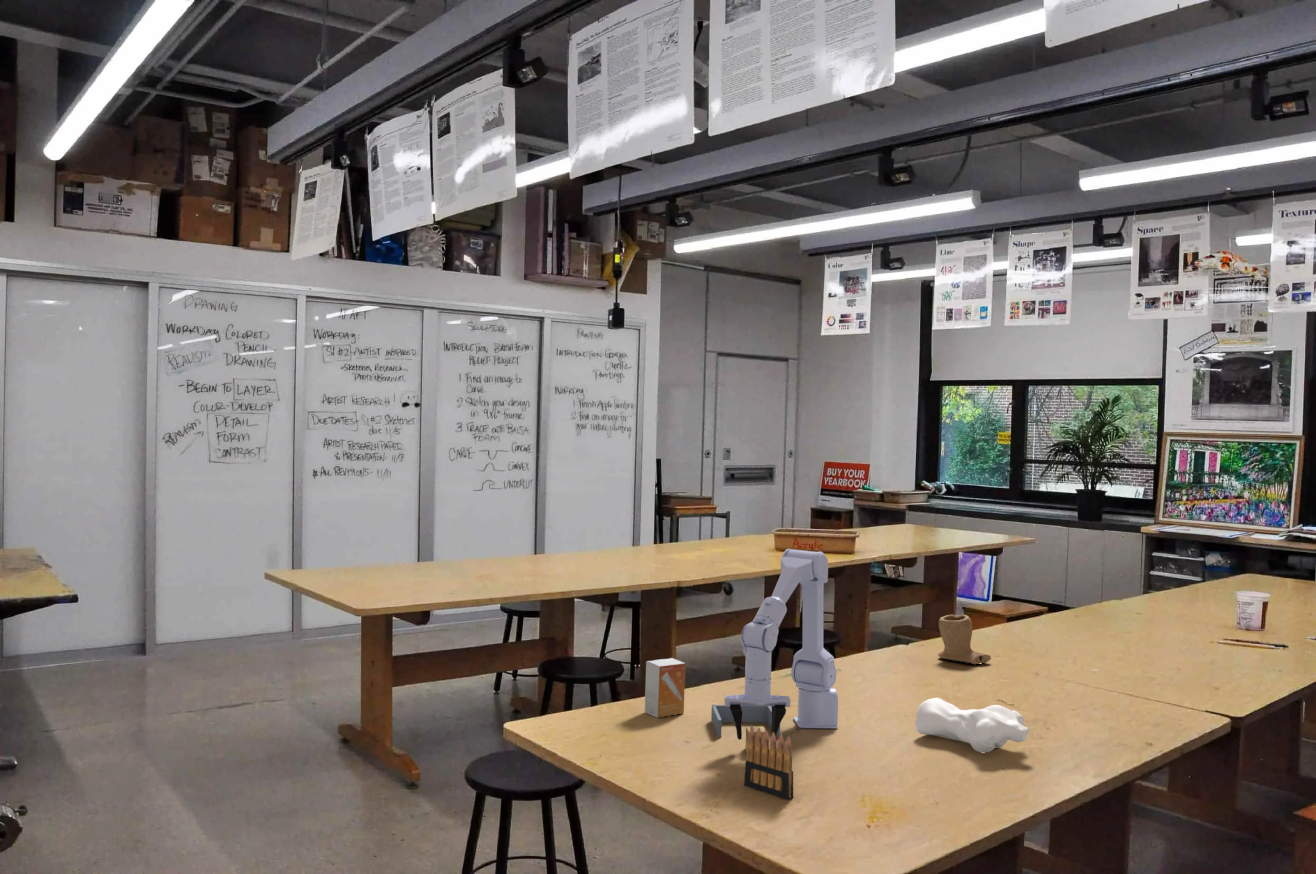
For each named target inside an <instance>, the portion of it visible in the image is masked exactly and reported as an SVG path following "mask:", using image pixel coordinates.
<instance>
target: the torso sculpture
mask: <svg viewBox="0 0 1316 874" xmlns="http://www.w3.org/2000/svg"><path fill="white" fill-rule="evenodd" d="M915 718H916V719H915V724H914V725H915V729H916V731H917V733H919V734H921V735H926V736H935V737H939V738H942V739H949V740H952V741H953V740H954V741H957V742H961V743H962V742H963V743H967V744H970V746H971V747H972V748H973V750H974V751H975V752H977V751H978V752H977V753H979V752H988V753H990V752H991V751H993V750H995V749H994V747H995V748H998V749H1000V748H1002V747H1003V746H1005V744H1006V743H1007V742H1008V741H1009V740H1010V741H1012V742H1016V743H1020V742H1021V743H1022V742H1024V741H1025V740H1026V739H1027V737H1028V734H1029V733H1030V729H1029V727H1026V726H1024V721H1025V720H1024V717H1023V715H1022V714H1021V713H1019V712H1018V711H1017V710H1012V709H1009V708H1007V707H1004V706H1003V705H999V704H993V705H988V706H986V707H984V708H981V709H965V710H964V709H960V708H958V707H957V706H956V705H954V704H952V703H950V702H947V701H945V700H943V699H942V698H941V697H934V698H933V697H932V698H929V699H926V700H924V701H922V702H921V703H920V705H919V706H918V708H917V712H916V716H915Z"/></svg>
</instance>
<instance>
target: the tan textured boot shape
mask: <svg viewBox="0 0 1316 874" xmlns="http://www.w3.org/2000/svg"><path fill="white" fill-rule="evenodd" d="M938 628H939V633H940V637H941V639H942V642H943V645H944V648H943V650H942V651H941V652H938V653H937V655H938V657H939V658H941V659H945V660H950V661H953V662H958V661H959V662H958V663H963V662H965V663H964V664H969V663H971V665H976V664H979V663H984V664H986V663H988V662H989V661H991V659H992V656H991V655H989V654H988V653H987V654H986V653H981V652H978V651H977V652H976V651H974V650H973V649H972V647H971V643H972V636H973V621H972V620H971V618H970V616H969V615H966V614H959V615H957V614H947V615H943V616H941V617H940V618H939V620H938Z"/></svg>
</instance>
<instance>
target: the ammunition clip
mask: <svg viewBox="0 0 1316 874" xmlns="http://www.w3.org/2000/svg"><path fill="white" fill-rule="evenodd" d="M750 726H751V728H750V732H749V740H748V747H747V751H746V760H745V763H744V764H745V766H744V781H743V786H744V787H746V786H747V787H746V788H749V787H750V789H752V790H756V791H759V792H762V793H765V794H768V795H771V796H775V797H778V798H780V799H783V800H787V801H789V800H791V799H793V798H794V771H793V756H792V741H791V738H790V736H789V735H788V736H787V737H786V742H785V743H784V737H783V734H782V733H780V736H779V738H776V737H775V733H774V732H773V733H772V735H771V734H770V739H769V733H768V730H767V729H765V733H764V737H763V746H762V736H761V731H760V728H758V730H757V734H756V742H755V735H754V729H753V725H750ZM777 739H778V740H777ZM784 745H785V747H784Z"/></svg>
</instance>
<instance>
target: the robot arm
mask: <svg viewBox="0 0 1316 874" xmlns="http://www.w3.org/2000/svg"><path fill="white" fill-rule="evenodd" d="M780 572H781V573H780V575H779V578H778V580H777V582H776V585H775V586H774V587H775V588H774V589H773V592H772V594H771V596H768V597H765V598H764V599H763V601H762V603H761V604H760V606H759V608H758V611H757V613H756V615H755V616H754V618H753V620H752V621H751V622H749V623H747V624H745V625H744V626H743V628H742V630H741V636H740V642H741V646H742V649H743V650H742V651H743V656H744V657H745V669H744V670H745V671H744V675H745V676H744V694H743V693H742V694H733V695H731V694H730V695H724V702H723V703H724V704H723V705H725V706H726V707H729V708H730V710H731V713H732V715H733V718H734V722H733V723H734V724H735V730H736V737H737V739H738V740H739V741H740V740H742V735H743V732H742V724H743V722H742V710H741V706H771V708H772V726H771V728H770V736H771V735H772V733H773V732H774V733H775V737H776V735H777V731H778V728H779V725H780V726H781V722H782V720H783V719H784V717H785V715H786V712H787V708H790V707H791V698H790V696H789V695H778V694H777V695H775V694H771V682H772V680H771V679H772V651H773V650H774V649H775V647H776V645H777V642H778V635H779V632H780V631H779V628H780V626H781V623H782V621H783V619H784V617H785V616H786V613H787V611H788V608H787V606H786V603H787V602H788V600H789V599H790V597H791V596H792V594H793V592H794V591H796V588H797V587H798V585H799V584H800V585H801V586H802V647H801V649H799V650H798V651H796V652H795V654H794V655H793V661H792V666H791V670H790V671H791V679H792V681H793V683H795V687H797V688H798V692H797V693H798V695H797V697H798V699H797V700H798V701H797V716H793V720H794V721H795V723H796V725H797V726H798V727H799V728H800V729H838V728H839V725H838V722H839V721H838V718H839V711H838V710H839V697H838V692H837V689H836V688H834V685H835V684H836V680H837V669H836V665H835V657H834V656H833V654H831V653H830V652H829V651H827V649H825V647H824V584H826V583H828V581H829V580H828V578H829V560H828V557H827V556H826V554H825V553H824V552H823V551H810V550H800V549H792V548H787V549H785V550H784V552H783V553H782V555H781V559H780Z"/></svg>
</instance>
